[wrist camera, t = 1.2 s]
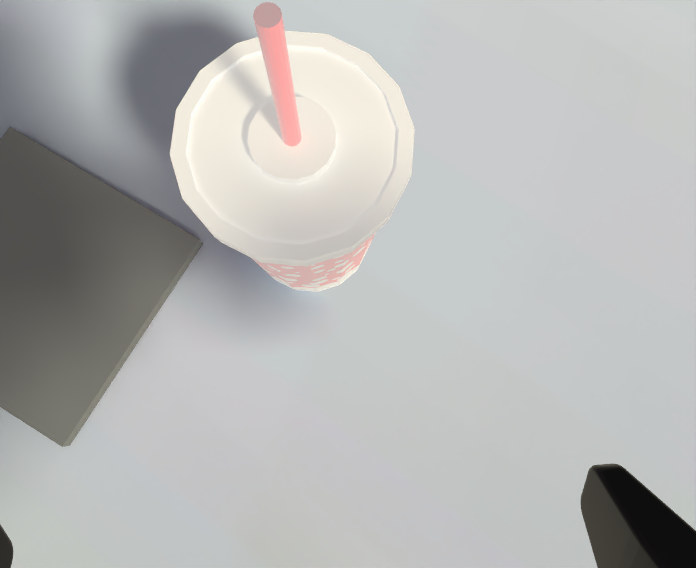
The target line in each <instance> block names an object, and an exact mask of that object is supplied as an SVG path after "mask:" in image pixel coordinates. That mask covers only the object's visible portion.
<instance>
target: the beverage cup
mask: <svg viewBox="0 0 696 568" xmlns="http://www.w3.org/2000/svg"><path fill="white" fill-rule="evenodd" d="M253 17H254V21H255V26H256V30H257V34H258V37H256V38H253V39H249V40H246V41H242V42H239V43H236V44H235V45H233V46H232V47H231V48H229V49H228V50H227V51H225V52H224V53H223V54H221V55H220V56H219V57H217V58H216V59H215V60H213V61H212V62H211V63H209V64H208V65H207V66H205V67H204V68H203V69H201V70H200V71H199V73H198V74H197V76H196V78H195V79H194V81H193V82H192V84H191V86H190V87H189V89H188V91H187V92H186V94H185V96H184V97H183V99H182V101H181V102H180V104H179V106H178V107H177V109H176V113H175V120H174V127H173V134H172V141H171V148H170V157H171V161H172V164H173V168H174V171H175V175H176V178H177V182H178V185H179V189H180V192H181V196H182V199H183V200H184V201H185V202H186V204H187V205H188V206H189V207H190V208H191V210H192V211H193V212H194V213H195V214H196V216H197V217H198V218H199V219H200V220H201V221H202V223H203V224H204V225H205V226H206V227H207V229H208V230H209V231H210V232H211V233H212V235H213V236H214V237H215V238H217V239H218V240H219V241H220V242H221V243H223V244H225V245H227V246H229V247H231V248H233V249H235V250H237V251H239V252H241V253H243V254H245V255H247V256H249V257H251V258H252V259H253V260H254V261H255V262H256V263H257V264H258V265H260V266H261V267H262V268H263V269H264V270H265V271H266V272H267V273H268V274H269V275H270V276H271V277H273V278H274V279H275V280H277V281H279V282H281V283H283V284H285V285H286V286H288V287H290V288H292V289H294V290H304V291H316V292H318V291H321V290H324V289H328V288H331V287H334V286H337V285H340V284H341V283H342V282H343V281H345V280H346V279H347V278H348V277H349V276H351V275H352V274H353V273H354V272H355V271H357V269H358V267H359V265H360V263H361V262H362V260H363V258H364V256H365V254H366V252H367V250H368V248H369V246H370V243H371V241H372V239H373V237H374V234H375V233H376V232H377V231H378V230H379V229H381V228H382V227H383V226H384V225H385V224H387V222H388V220H389V218H390V216H391V214H392V212H393V211H394V209H395V207H396V205H397V203H398V201H399V199H400V197H401V195H402V193H403V191H404V189H405V187H406V185H407V183H408V181H409V179H410V177H411V174H412V160H413V145H414V129H415V128H414V126H413V123H412V120H411V117H410V115H409V112H408V109H407V106H406V104H405V101H404V98H403V95H402V93H401V90H400V87H399V86H398V85H397V84H396V82H395V81H394V80H393V79H392V78H391V77H390V76H389V75H388V74H387V73H386V72H385V71H384V70H383V69H382V67H381V66H380V65H379V64H378V63H377V62H376V61H375V60H374V59H373V58H372V57H371V56H370V55H369V54H368V53H366V52H364V51H362V50H360V49H358V48H356V47H354V46H351V45H349V44H347V43H345V42H343V41H341V40H339V39H337V38H334V37H332V36H330V35H328V34H320V33H307V32H295V31H284V24H283V18H282V13H281V10H280V8H279V7H278V6H277V5H275V4H273V3H267V2H266V3H262V4H260V5H259V6H257V7H256V9H255V11H254V15H253Z"/></svg>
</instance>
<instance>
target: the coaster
mask: <svg viewBox="0 0 696 568" xmlns="http://www.w3.org/2000/svg"><path fill="white" fill-rule="evenodd" d="M202 244H203V243H202V242H201V241H200V240H199V239H198V238H196V237H194V236H193V235H191V234H189V233H188V232H186V231H184V230H183V229H181V228H179V227H178V226H176V225H174V224H173V223H171V222H169V221H167V220H166V219H164V218H162V217H161V216H159V215H157V214H156V213H154V212H152V211H151V210H149V209H147V208H146V207H144V206H142V205H141V204H139V203H137V202H136V201H134V200H132V199H130V198H129V197H127V196H125V195H124V194H122V193H120V192H119V191H117V190H115V189H114V188H112V187H110V186H109V185H107V184H105V183H104V182H102V181H100V180H99V179H97V178H95V177H93V176H92V175H90V174H88V173H87V172H85V171H83V170H82V169H80V168H78V167H77V166H75V165H73V164H72V163H70V162H68V161H67V160H65V159H63V158H62V157H60V156H58V155H56V154H55V153H53V152H51V151H50V150H48V149H46V148H45V147H43V146H41V145H40V144H38V143H36V142H35V141H33V140H31V139H30V138H28V137H26V136H25V135H23V134H21V133H19V132H18V131H16V130H14V129H13V128H11V127H10V128H9V129H8V130H7V132H6V133H5V134H4V136H3V137H2V138H1V140H0V407H1V408H3V409H5V410H6V411H8V412H9V413H11V414H12V415H14V416H15V417H17V418H19V419H20V420H22V421H23V422H25V423H26V424H28V425H29V426H31V427H32V428H34V429H36V430H37V431H39V432H40V433H42V434H43V435H45V436H46V437H48V438H50V439H51V440H53V441H54V442H56V443H57V444H59V445H60V446H62V447H63V446H69V445H70V444H71V443H72V441H73V440H74V438H75V437H76V435H77V434H78V432H79V431H80V429H81V428H82V426H83V425H84V423H85V421H86V420H87V418H88V417H89V415H90V414H91V412H92V411H93V409H94V408H95V406H96V405H97V403H98V402H99V400H100V399H101V397H102V396H103V394H104V393H105V391H106V390H107V388H108V387H109V385H110V384H111V382H112V381H113V379H114V378H115V376H116V374H117V373H118V371H119V370H120V368H121V367H122V365H123V364H124V362H125V361H126V359H127V358H128V356H129V355H130V353H131V352H132V350H133V349H134V347H135V346H136V344H137V343H138V341H139V340H140V338H141V337H142V335H143V334H144V332H145V331H146V329H147V328H148V326H149V324H150V323H151V321H152V320H153V318H154V317H155V315H156V314H157V312H158V311H159V309H160V308H161V306H162V305H163V303H164V302H165V300H166V299H167V297H168V296H169V294H170V293H171V291H172V290H173V288H174V287H175V285H176V284H177V282H178V281H179V279H180V277H181V276H182V274H183V273H184V271H185V270H186V268H187V267H188V265H189V264H190V262H191V261H192V259H193V258H194V256H195V255H196V253H197V252H198V250H199V249H200V247H201V246H202Z"/></svg>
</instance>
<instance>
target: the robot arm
mask: <svg viewBox="0 0 696 568" xmlns="http://www.w3.org/2000/svg"><path fill="white" fill-rule="evenodd" d="M581 510H582V515H583V518H584V522H585V525H586V529H587V532H588V536H589V539H590V543H591V546H592V549H593V553H594V556H595V560H596V563H597V567H598V568H696V531H695V530H694V529H693V528H692V527H691V526H690V525H689V524H687V523H686V522H685V521H684V520H683V519H682V518H681V517H679V516H678V515H677V514H676V513H675V512H674V511H673V510H671V509H670V508H669V507H668V506H667V505H666V504H665V503H663V502H662V501H661V500H660V499H659V498H658V497H657V496H655V495H654V494H653V493H652V492H651V491H650V490H649V489H647V488H646V487H645V486H644V485H643V484H642V483H641V482H640V481H638V480H637V479H636V478H635V477H634V476H633V475H632V474H630V473H629V472H628V471H627V470H626V469H625V468H623V467H622V466H620V465H618V464H603V465H594V466H592V467H591V468H590V469H589V471H588V475H587V478H586V482H585V485H584V489H583V492H582V496H581ZM12 559H13V546H12V542H11V540H10V539H9V537H8V536H7V534H6V533H5V531H4V529H3V528H2V526H1V525H0V568H11V564H12Z"/></svg>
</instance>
